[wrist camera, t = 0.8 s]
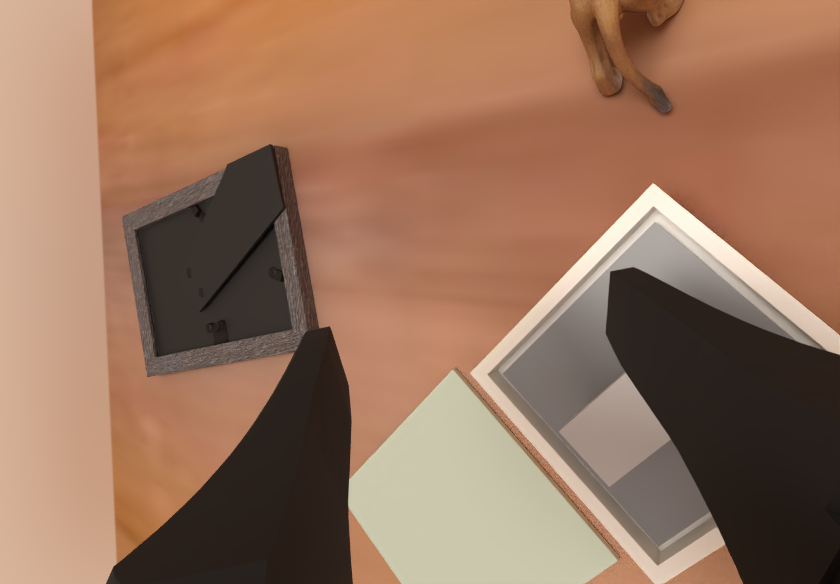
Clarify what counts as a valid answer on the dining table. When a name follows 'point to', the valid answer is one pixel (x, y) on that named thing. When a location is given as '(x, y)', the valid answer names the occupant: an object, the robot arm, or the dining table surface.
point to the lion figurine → (618, 42)
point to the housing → (569, 288)
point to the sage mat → (470, 502)
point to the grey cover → (624, 389)
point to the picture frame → (222, 268)
